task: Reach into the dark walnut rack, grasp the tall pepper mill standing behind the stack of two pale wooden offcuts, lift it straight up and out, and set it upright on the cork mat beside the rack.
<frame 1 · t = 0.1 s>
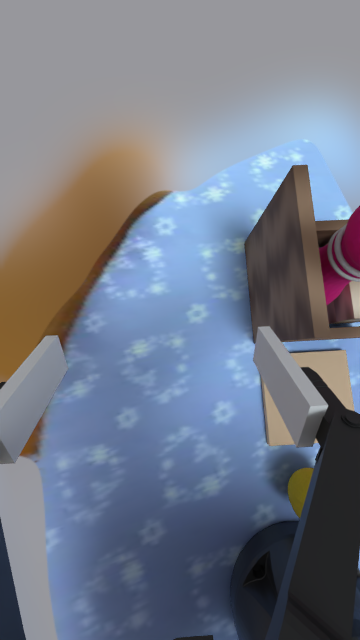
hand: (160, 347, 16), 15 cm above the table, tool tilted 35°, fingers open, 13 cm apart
rack: (296, 289, 32), on the table
lemon: (298, 479, 30), on the table
pepper mill: (288, 290, 33), resting in rack
offcut top: (344, 281, 30), point 3 cm above the table, touching offcut bottom
cork mat: (305, 395, 31), on the table
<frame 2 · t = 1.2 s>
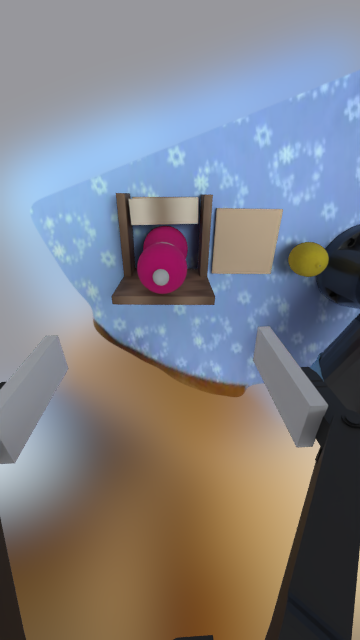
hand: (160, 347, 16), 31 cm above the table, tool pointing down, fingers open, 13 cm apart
rack: (166, 238, 42), on the table
lemon: (296, 254, 44), on the table
pepper mill: (166, 244, 43), resting in rack
offcut top: (164, 210, 38), point 3 cm above the table, touching offcut bottom
cork mat: (244, 242, 43), on the table
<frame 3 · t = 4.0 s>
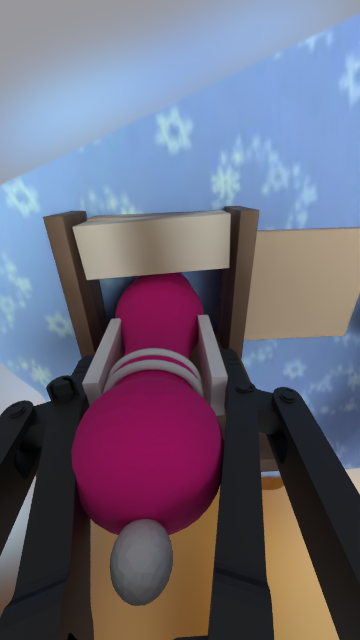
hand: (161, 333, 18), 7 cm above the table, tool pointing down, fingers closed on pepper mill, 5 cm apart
rack: (161, 287, 23), on the table
pepper mill: (161, 296, 24), resting in rack, touching gripper
offcut top: (156, 240, 18), point 3 cm above the table, touching offcut bottom
cork mat: (301, 287, 24), on the table
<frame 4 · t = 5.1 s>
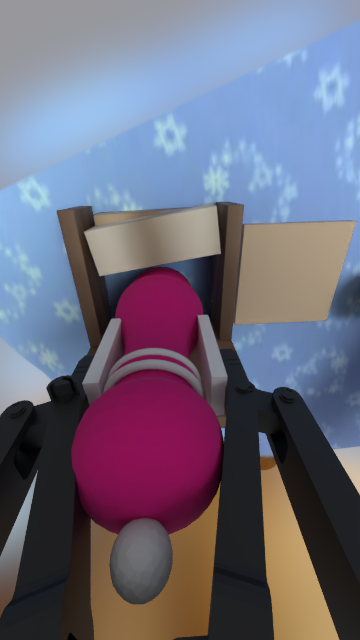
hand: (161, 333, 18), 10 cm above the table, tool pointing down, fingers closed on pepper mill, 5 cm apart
rack: (159, 276, 26), on the table
pepper mill: (161, 296, 24), point 3 cm above the table, touching gripper
offcut top: (156, 236, 21), point 3 cm above the table, touching offcut bottom
cork mat: (286, 275, 26), on the table
offcut bottom: (156, 228, 24), on the table, touching offcut top
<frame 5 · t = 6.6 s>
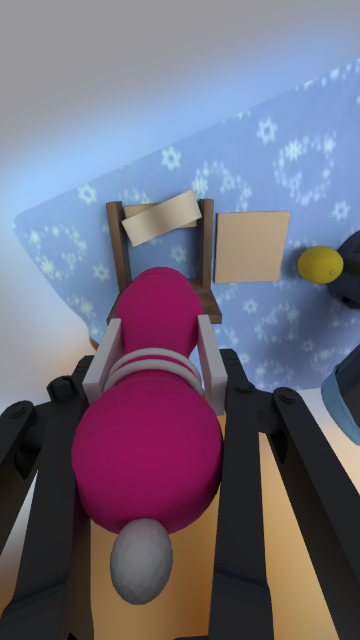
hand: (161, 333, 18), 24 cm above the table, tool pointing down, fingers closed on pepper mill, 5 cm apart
rack: (163, 248, 39), on the table
lemon: (305, 258, 41), on the table
pepper mill: (161, 296, 24), point 17 cm above the table, touching gripper
offcut top: (162, 217, 34), point 3 cm above the table
cork mat: (249, 248, 39), on the table
offcut bottom: (161, 215, 37), on the table
when the fingers open (9 cm above the table, at t = 10.4 s): pepper mill drops 2 cm, resting on cork mat.
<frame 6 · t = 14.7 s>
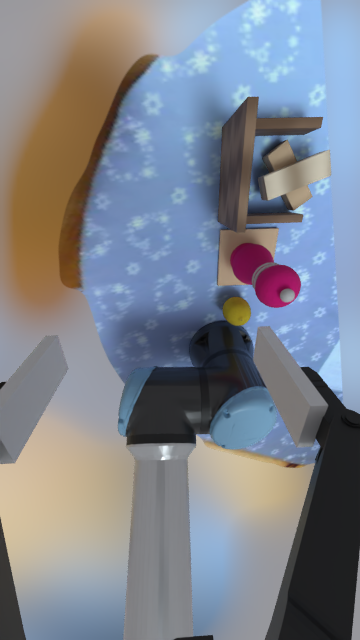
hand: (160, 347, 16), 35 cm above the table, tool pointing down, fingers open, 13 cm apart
rack: (256, 177, 42), on the table
lemon: (231, 302, 53), on the table
pepper mill: (245, 258, 48), point 1 cm above the table, touching cork mat
offcut top: (289, 177, 40), point 3 cm above the table, touching offcut bottom
cork mat: (245, 257, 48), on the table
offcut bottom: (283, 178, 42), on the table, touching offcut top
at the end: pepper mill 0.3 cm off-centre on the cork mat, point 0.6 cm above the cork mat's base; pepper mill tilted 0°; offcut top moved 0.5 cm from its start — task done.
